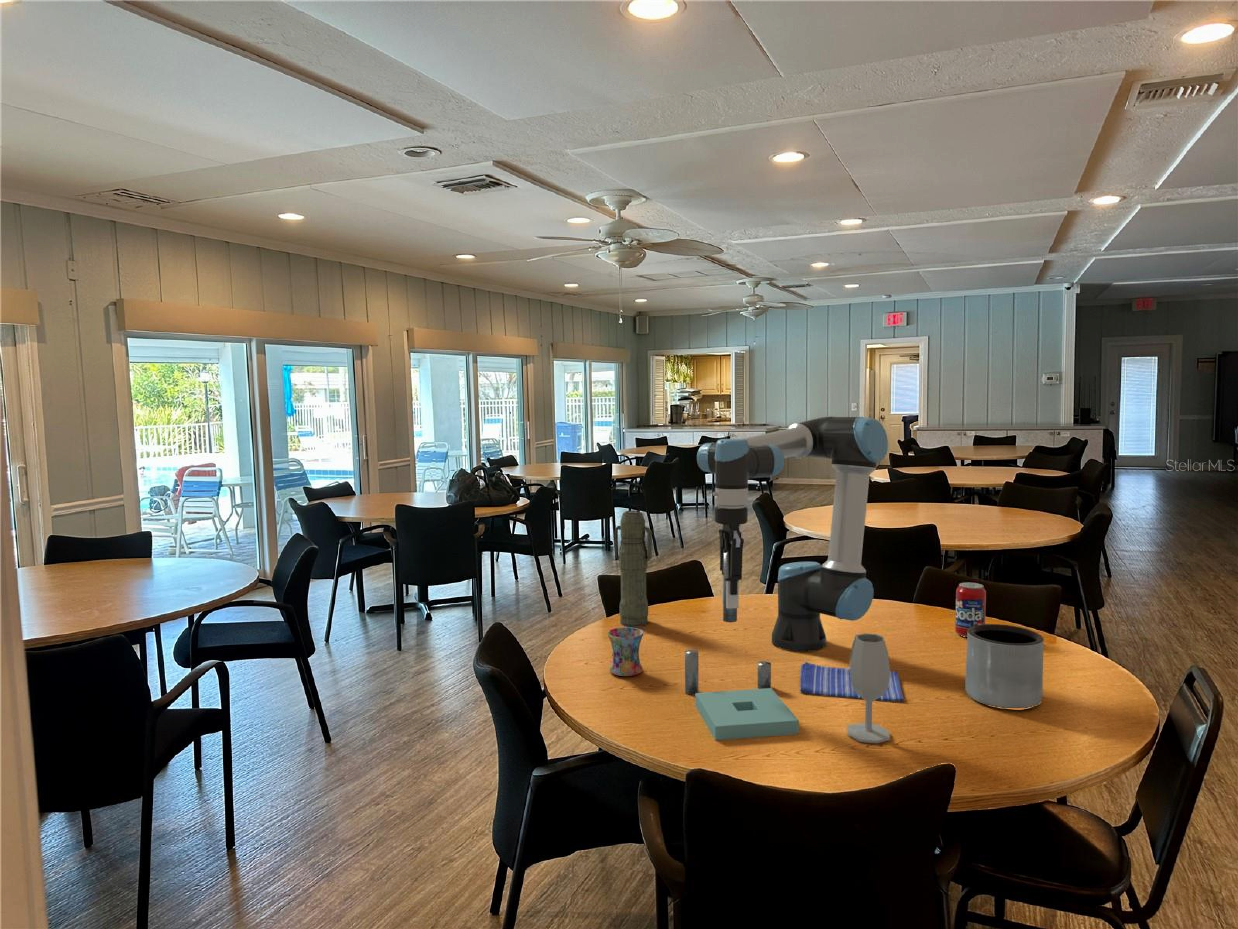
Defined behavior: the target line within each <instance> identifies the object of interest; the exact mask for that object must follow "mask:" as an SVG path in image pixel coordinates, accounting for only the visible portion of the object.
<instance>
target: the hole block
mask: <svg viewBox="0 0 1238 929" xmlns="http://www.w3.org/2000/svg"><path fill="white" fill-rule="evenodd" d="M694 696H695V698H694V700H695V703H694V704H695V705H694V706H695V708H696V710H697V711H698V713H699V715H700V717H701V718H702V719H703V722H704V723H705V725H706V726H707V729H708V730H709V731H710V734H711V735H712V737H713V738H714V740H715V741H723V740H724V741H725V740H737V739H738V740H739V739H750V738H751V739H752V738H763V737H764V738H765V737H777V736H790V735H792V736H793V735H799V734H800V721H799V718H798V717H797V716H796V715H795V713H793V712H792V710H791V709H790V708H789V707H788V705H786V703H785V702H784V701H783V700H782V699H781V698H780V697H779V696H778V695H777V693H776V692H775V691H774V690H773V689H772V687H771V688H765V689H759V688H753V689H740V690H739V689H738V690H735V689H734V690H725V691H723V690H722V691H710V692H709V691H708V692H699V693H695V695H694Z"/></svg>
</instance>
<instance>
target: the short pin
mask: <svg viewBox="0 0 1238 929" xmlns="http://www.w3.org/2000/svg"><path fill="white" fill-rule="evenodd" d="M765 688H771V689H772V663H771V662H769V661H763V660H762V661H761V660H760V661H758V662H757V689H765Z"/></svg>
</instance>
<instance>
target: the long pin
mask: <svg viewBox="0 0 1238 929" xmlns="http://www.w3.org/2000/svg"><path fill="white" fill-rule="evenodd" d="M722 577H723V603H722V621H723V622H726V623H735V622H737V621H738V608H726V585H727V581H725V578H728V563H727V552H724V566H723V575H722Z"/></svg>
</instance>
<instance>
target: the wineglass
mask: <svg viewBox="0 0 1238 929" xmlns="http://www.w3.org/2000/svg"><path fill="white" fill-rule="evenodd" d="M849 656H850V657H849V669H850V677H851V682H852V686H853V690H854V691H855V692H856V693H857V694H858V695H859V696H860V697H862V698H863V699H862V700H864V701H865V712H864V713H865V715H864V716H865V719H864V721H865V722H858V723H853V724H849V725H847V734H848V736H849V737H850V738H852V739H853V740H855V741H857V742H859V743H866V744H881V743H885V742H888V741H889V742H890V740H891V737H890V731H889V729H887V728H885V727H883V726H882V725H879V724H877V723H873V702H875V701H876V699H878V698H879V697H881V696H882V695H884V694H886V691H887V688H888V685H889V681H890V671H891V665H890V657H889V652H888V647H887V644H886V640H885V637H884V636H882V635H879V634H877V633H867V632H866V633H865V632H864V633H859V634H855V636H854V639H853V641H852V645H851V651H850V655H849Z"/></svg>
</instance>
